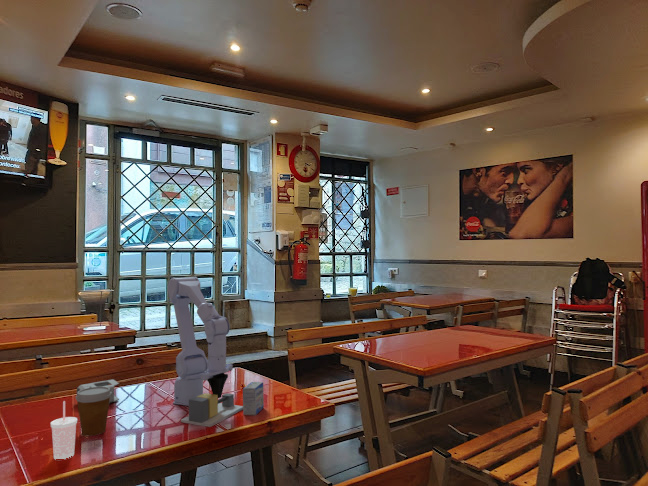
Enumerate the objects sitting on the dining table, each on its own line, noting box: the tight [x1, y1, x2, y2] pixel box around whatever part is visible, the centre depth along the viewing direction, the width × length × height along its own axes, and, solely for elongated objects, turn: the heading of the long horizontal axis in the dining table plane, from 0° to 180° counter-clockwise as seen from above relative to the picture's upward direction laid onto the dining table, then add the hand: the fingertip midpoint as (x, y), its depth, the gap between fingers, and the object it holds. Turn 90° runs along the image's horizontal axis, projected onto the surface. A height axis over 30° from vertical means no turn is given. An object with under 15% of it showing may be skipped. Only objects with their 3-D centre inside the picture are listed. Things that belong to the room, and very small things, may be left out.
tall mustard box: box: [197, 392, 219, 418], centre depth 148 cm, size 5×4×6 cm
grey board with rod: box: [180, 393, 243, 428], centre depth 151 cm, size 11×18×7 cm, turn 156°
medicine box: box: [242, 381, 265, 416], centre depth 155 cm, size 8×4×9 cm, turn 168°
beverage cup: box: [50, 400, 78, 460], centre depth 122 cm, size 6×6×14 cm
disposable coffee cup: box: [75, 387, 112, 437], centre depth 138 cm, size 10×10×12 cm
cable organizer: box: [76, 379, 120, 405], centre depth 166 cm, size 7×12×12 cm
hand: (217, 397), depth 153 cm, fingers closed
